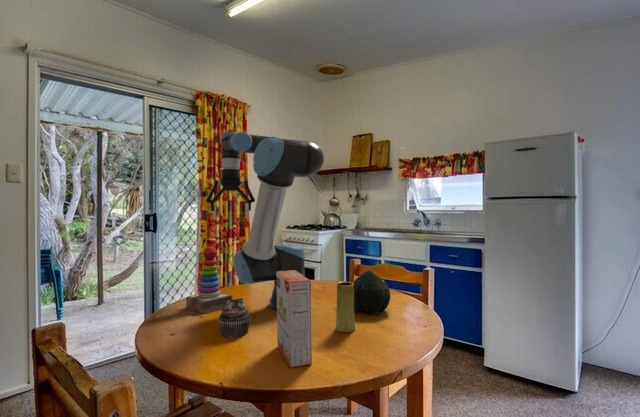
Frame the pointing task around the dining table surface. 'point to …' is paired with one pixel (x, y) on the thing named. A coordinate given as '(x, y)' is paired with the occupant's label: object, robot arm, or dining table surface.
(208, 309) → the plinth
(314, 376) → the dining table surface
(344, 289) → the vase
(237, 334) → the cupcake
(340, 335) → the dining table surface
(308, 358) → the cracker box
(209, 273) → the stacking toy
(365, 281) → the squash
